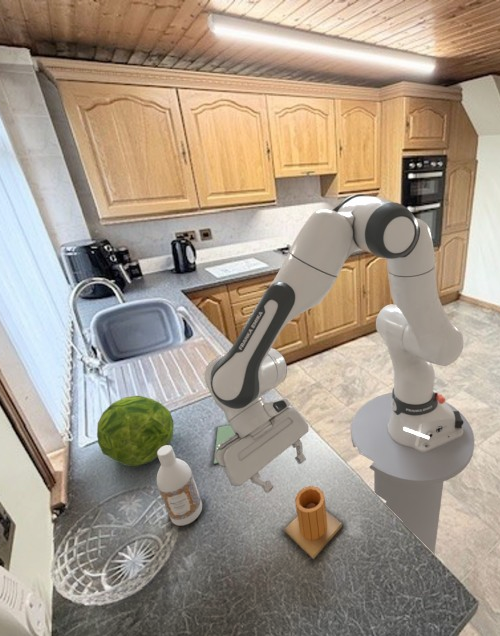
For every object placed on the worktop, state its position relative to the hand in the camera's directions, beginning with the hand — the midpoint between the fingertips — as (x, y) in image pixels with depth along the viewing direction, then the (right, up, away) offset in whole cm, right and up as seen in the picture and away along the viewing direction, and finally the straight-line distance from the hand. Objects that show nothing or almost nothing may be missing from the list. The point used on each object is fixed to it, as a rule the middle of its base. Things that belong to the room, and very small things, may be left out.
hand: (286, 475), depth 76 cm
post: (+6, -12, +1) cm, 14 cm away
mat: (-18, -1, +26) cm, 31 cm away
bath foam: (-24, -11, +6) cm, 27 cm away
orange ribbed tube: (+6, -11, +1) cm, 13 cm away
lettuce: (-46, -3, +24) cm, 52 cm away
